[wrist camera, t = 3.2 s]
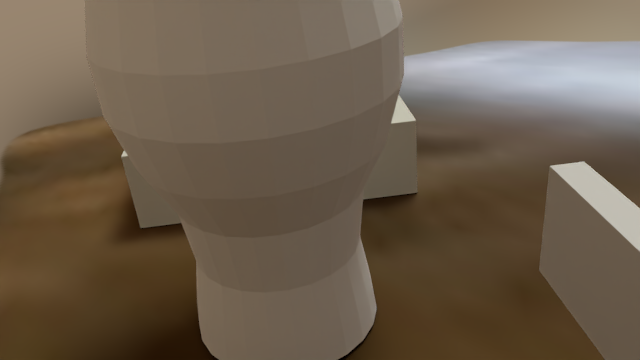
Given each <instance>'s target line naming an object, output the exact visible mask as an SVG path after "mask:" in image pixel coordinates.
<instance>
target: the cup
mask: <svg viewBox="0 0 640 360" xmlns="http://www.w3.org/2000/svg"><path fill="white" fill-rule="evenodd" d="M85 23H86V51H87V60H88V64H89V67H90V70H91V74H92V78H93V81H94V85H95V88H96V92H97V96H98V99H99V102H100V106H101V110H102V113H103V117H104V118H105V120H106V122H107V123H108V125H109V126H110V128H111V130H112V131H113V133H114V134H115V136H116V138H117V139H118V141H119V142H120V144H121V146H122V147H123V149H124V150H125V152H126V154H127V155H128V157H129V158H130V160H131V162H132V163H133V165H134V167H135V168H136V170H137V171H138V172H139V173H140V174H141V176H142V177H143V178H144V179H145V180H146V181H147V182H148V183H149V184H150V185H151V187H152V188H153V189H154V190H155V191H156V192H157V193H158V194H159V195H160V196H161V197H162V198H163V199H164V200H165V201H166V202H167V203H168V204H169V205H170V206H171V207H172V209H173V210H174V211H175V212H176V213H177V214H178V216H179V219H180V221H181V224H182V226H183V229H184V231H185V234H186V236H187V239H188V241H189V244H190V246H191V249H192V251H193V254H194V256H195V259H196V272H197V306H198V316H199V326H200V331H201V337H202V341H203V342H204V344H205V345H206V347H207V348H208V350H209V351H210V353H211V354H212V355H213V356H214V357H216V358H217V359H219V360H338V359H340V358H341V357H343V356H345V355H347V354H348V353H349V352H350V351H352V350H353V349H354V348H355V347H356V346H357V345H358V344H359V343H361V342H362V341H363V340H364V338H365V337H366V335H367V333H368V332H369V330H370V329H371V327H372V325H373V324H374V319H375V314H376V309H377V307H376V302H375V297H374V292H373V287H372V281H371V276H370V271H369V267H368V264H367V260H366V257H365V253H364V249H363V246H362V242H361V238H360V229H361V217H362V206H363V194H364V186H365V184H366V182H367V180H368V178H369V176H370V174H371V172H372V170H373V168H374V166H375V164H376V162H377V160H378V158H379V156H380V154H381V152H382V150H383V148H384V146H385V143H386V140H387V137H388V133H389V130H390V126H391V122H392V118H393V114H394V110H395V107H396V103H397V99H398V95H399V91H400V87H401V83H402V80H403V76H404V53H403V15H402V11H401V7H400V3H399V0H85Z"/></svg>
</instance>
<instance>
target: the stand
mask: <svg viewBox="0 0 640 360" xmlns="http://www.w3.org/2000/svg"><path fill="white" fill-rule="evenodd" d="M121 158H122V161H123V165H124V169H125V173H126V176H127V180H128V184H129V187H130V191H131V195H132V198H133V202H134V206H135V210H136V213H137V217H138V221H139V224H140V228H147V227H154V226H162V225H170V224H178V223H181V221H180V219H179V216H178V214H177V213H176V212H175V211H174V210H173V209H172V207H171V206H170V205H169V204H168V203H167V202H166V201H165V200H164V199H163V198H162V197H161V196H160V195H159V194H158V193H157V192H156V191H155V190H154V189H153V188H152V187H151V185H150V184H149V183H148V182H147V181H146V180H145V179H144V178H143V177H142V176H141V174H140V173H139V172H138V171H137V170H136V168H135V167H134V165H133V163H132V162H131V160H130V158H129V157H128V155H127V154H126V152H125V150H124V152H123V154H122V156H121ZM410 193H417V146H416V120H415V118H414V117H413V115H412V114H411V112H410V111H409V109H408V108H407V106H406V105H405V103H404V102H403V100H402V99H401V98H400V96H399V95H398V99H397V103H396V107H395V110H394V114H393V118H392V122H391V126H390V130H389V133H388V137H387V140H386V143H385V146H384V148H383V150H382V152H381V154H380V156H379V158H378V160H377V162H376V164H375V166H374V168H373V170H372V172H371V174H370V176H369V178H368V180H367V182H366V184H365V186H364V194H363V200H364V199H371V198H379V197H387V196H395V195H402V194H410Z"/></svg>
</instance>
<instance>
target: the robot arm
mask: <svg viewBox="0 0 640 360" xmlns="http://www.w3.org/2000/svg"><path fill="white" fill-rule="evenodd" d="M539 271H540V272H541V273H542V275H543V276H544V277H545V279H546V280H547V281H548V283H549V284H550V286H551V287H552V288H553V290H554V291H555V292H556V294H557V295H558V296H559V298H560V299H561V300H562V302H563V303H564V305H565V306H566V307H567V309H568V310H569V311H570V313H571V314H572V315H573V317H574V318H575V319H576V321H577V322H578V323H579V325H580V326H581V328H582V329H583V330H584V332H585V333H586V334H587V336H588V337H589V338H590V340H591V341H592V342H593V344H594V345H595V346H596V348H597V349H598V351H599V352H600V353H601V355H602V356H603V357H604V359H605V360H640V208H639V207H637V206H636V205H635V204H634V203H633V202H631V201H630V200H629V199H628V198H627V197H625V196H624V195H623V194H622V193H621V192H620V191H618V190H617V189H616V188H615V187H614V186H612V185H611V184H610V183H609V182H608V181H606V180H605V179H604V178H603V177H602V176H600V175H599V174H598V173H597V172H596V171H595V170H593V169H592V168H591V167H590V166H589V165H587V164H586V163H585V162H578V163H569V164H561V165H553V166H550V169H549V178H548V188H547V198H546V208H545V218H544V228H543V238H542V248H541V257H540V267H539Z"/></svg>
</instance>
